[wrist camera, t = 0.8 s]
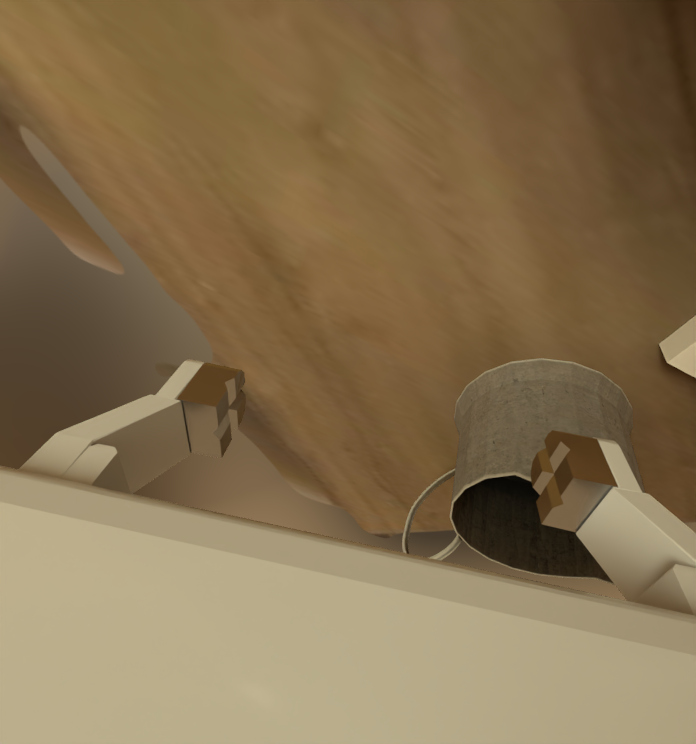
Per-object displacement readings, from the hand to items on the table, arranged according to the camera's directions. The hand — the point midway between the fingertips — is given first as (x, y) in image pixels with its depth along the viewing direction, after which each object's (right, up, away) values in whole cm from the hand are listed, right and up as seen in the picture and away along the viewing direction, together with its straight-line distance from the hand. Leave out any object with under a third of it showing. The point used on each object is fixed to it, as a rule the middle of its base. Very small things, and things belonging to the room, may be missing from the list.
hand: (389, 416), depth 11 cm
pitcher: (+23, -7, +52) cm, 57 cm away
